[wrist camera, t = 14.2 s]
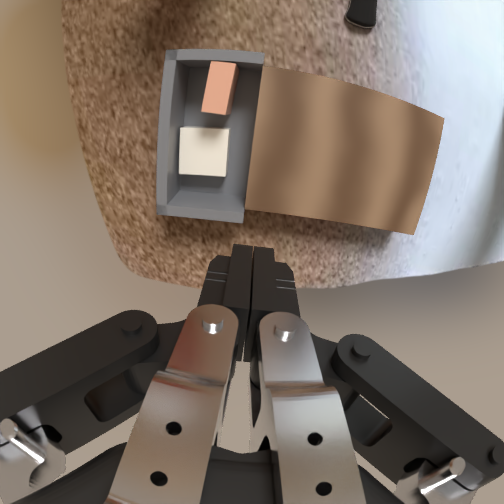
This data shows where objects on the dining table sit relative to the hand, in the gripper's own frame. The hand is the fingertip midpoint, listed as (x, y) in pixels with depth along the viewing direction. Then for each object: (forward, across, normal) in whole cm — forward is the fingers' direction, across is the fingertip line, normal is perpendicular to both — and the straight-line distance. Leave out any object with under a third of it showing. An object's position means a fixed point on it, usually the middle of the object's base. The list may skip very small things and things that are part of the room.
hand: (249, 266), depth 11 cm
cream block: (+16, +5, -1) cm, 17 cm away
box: (+19, +5, -3) cm, 19 cm away
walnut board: (+19, -8, -3) cm, 21 cm away
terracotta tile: (+16, +3, -7) cm, 18 cm away
